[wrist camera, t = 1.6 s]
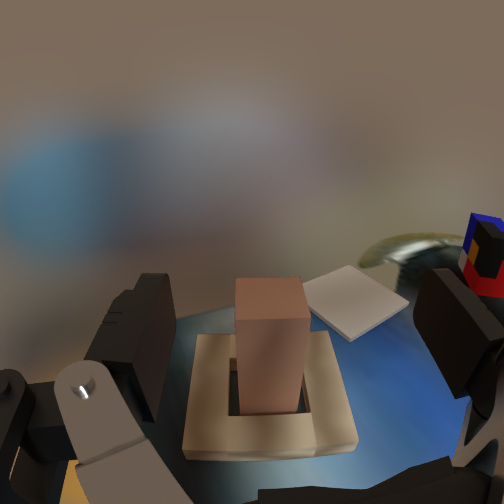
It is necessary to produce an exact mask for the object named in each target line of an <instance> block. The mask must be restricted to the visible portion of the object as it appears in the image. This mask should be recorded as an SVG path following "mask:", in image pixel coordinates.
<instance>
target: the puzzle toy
mask: <svg viewBox="0 0 504 504" xmlns="http://www.w3.org/2000/svg"><path fill="white" fill-rule="evenodd" d="M458 265H459V267H460V269H461V271H462V273H463V275H464V277H465V279H466V281H467V283H468V285H469V287H470V289H471V290H473V292H474V293H475V294H476V295H482V296H491V297H500V298H504V219H500V218H496V217H491V216H485V215H480V214H475V213H471V215H470V220H469V224H468V228H467V232H466V236H465V240H464V244H463V247H462V251H461V254H460V258H459V261H458Z"/></svg>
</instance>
